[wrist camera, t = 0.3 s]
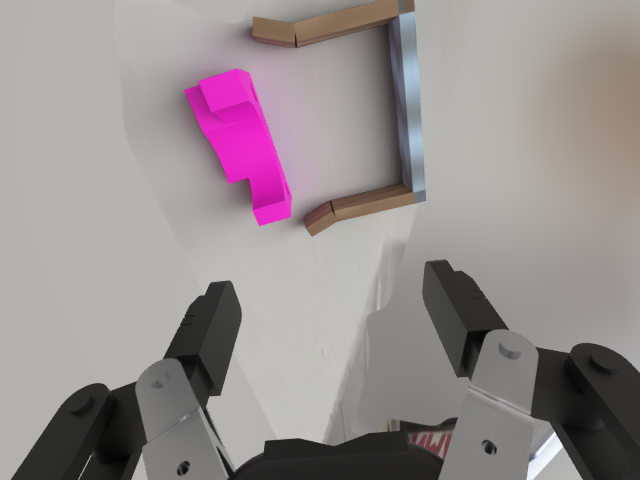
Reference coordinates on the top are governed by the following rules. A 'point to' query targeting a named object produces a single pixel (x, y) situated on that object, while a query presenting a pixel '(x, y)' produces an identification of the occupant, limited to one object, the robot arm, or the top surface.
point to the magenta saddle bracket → (242, 140)
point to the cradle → (403, 48)
